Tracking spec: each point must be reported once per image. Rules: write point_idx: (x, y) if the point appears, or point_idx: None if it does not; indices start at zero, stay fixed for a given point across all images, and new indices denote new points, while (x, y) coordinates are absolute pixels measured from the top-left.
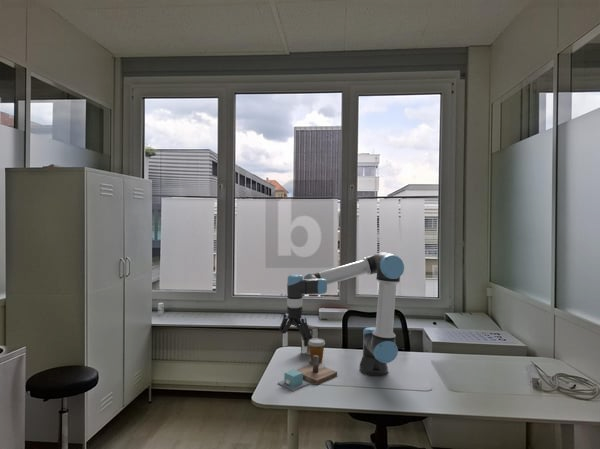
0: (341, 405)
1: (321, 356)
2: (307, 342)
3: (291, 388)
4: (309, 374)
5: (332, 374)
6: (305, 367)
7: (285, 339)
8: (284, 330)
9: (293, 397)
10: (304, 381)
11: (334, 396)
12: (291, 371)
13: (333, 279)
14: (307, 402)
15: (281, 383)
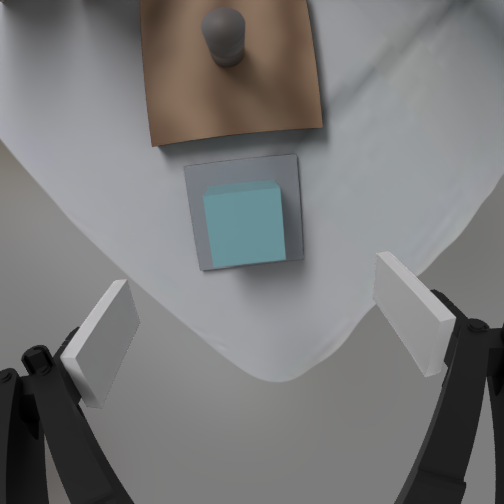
0: (481, 194)
1: None
2: (456, 315)
3: (287, 258)
4: (239, 104)
5: (307, 12)
6: (150, 65)
7: (114, 342)
8: (94, 438)
9: (343, 288)
10: (265, 160)
11: (437, 159)
12: (222, 226)
13: None
14: None
15: None
